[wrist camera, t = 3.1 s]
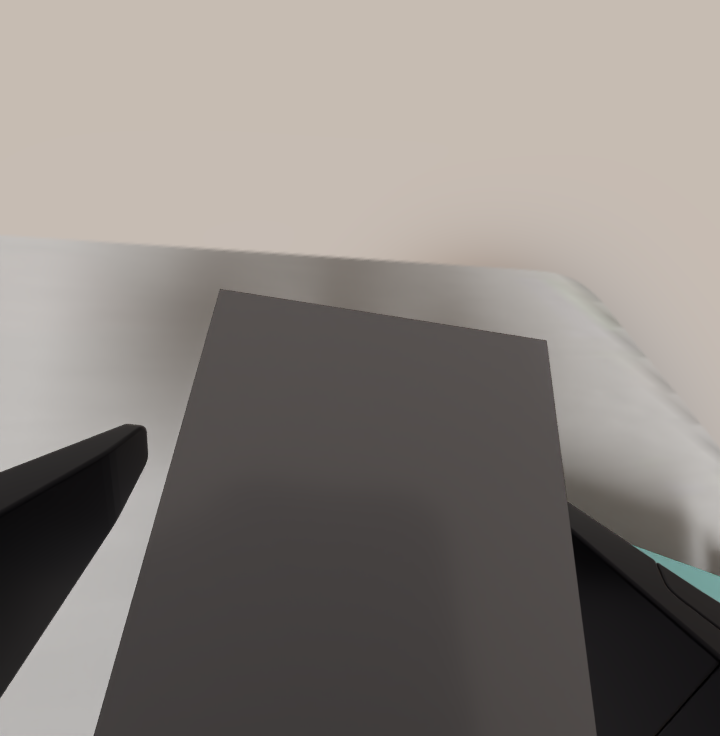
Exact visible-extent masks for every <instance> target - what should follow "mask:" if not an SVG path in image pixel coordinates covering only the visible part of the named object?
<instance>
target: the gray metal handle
mask: <svg viewBox="0 0 720 736" xmlns="http://www.w3.org/2000/svg"><path fill="white" fill-rule="evenodd" d="M94 736H597V733H596V725H595V717H594V709H593V701H592V693H591V686H590V678H589V670H588V662H587V654H586V646H585V638H584V631H583V623H582V615H581V607H580V599H579V591H578V583H577V576H576V568H575V560H574V552H573V544H572V536H571V528H570V520H569V513H568V505H567V497H566V489H565V481H564V473H563V465H562V458H561V450H560V442H559V434H558V426H557V418H556V410H555V403H554V395H553V387H552V379H551V371H550V363H549V355H548V347H547V341H546V340H540V339H533V338H527V337H521V336H515V335H508V334H502V333H496V332H489V331H483V330H477V329H470V328H464V327H458V326H451V325H445V324H439V323H432V322H426V321H420V320H413V319H407V318H401V317H394V316H388V315H382V314H375V313H369V312H363V311H356V310H350V309H344V308H337V307H331V306H325V305H318V304H312V303H306V302H299V301H293V300H287V299H280V298H274V297H268V296H261V295H255V294H249V293H242V292H236V291H230V290H223V289H220V291H219V294H218V298H217V301H216V305H215V309H214V312H213V316H212V319H211V323H210V326H209V330H208V333H207V337H206V340H205V344H204V347H203V351H202V355H201V358H200V362H199V365H198V369H197V372H196V376H195V379H194V383H193V386H192V390H191V393H190V397H189V401H188V404H187V408H186V411H185V415H184V418H183V422H182V425H181V429H180V432H179V436H178V439H177V443H176V447H175V450H174V454H173V457H172V461H171V464H170V468H169V471H168V475H167V478H166V482H165V485H164V489H163V492H162V496H161V500H160V503H159V507H158V510H157V514H156V517H155V521H154V524H153V528H152V531H151V535H150V538H149V542H148V546H147V549H146V553H145V556H144V560H143V563H142V567H141V570H140V574H139V577H138V581H137V584H136V588H135V592H134V595H133V599H132V602H131V606H130V609H129V613H128V616H127V620H126V623H125V627H124V630H123V634H122V638H121V641H120V645H119V648H118V652H117V655H116V659H115V662H114V666H113V669H112V673H111V676H110V680H109V683H108V687H107V691H106V694H105V698H104V701H103V705H102V708H101V712H100V715H99V719H98V722H97V726H96V729H95V733H94Z"/></svg>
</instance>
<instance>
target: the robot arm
mask: <svg viewBox="0 0 720 736" xmlns="http://www.w3.org/2000/svg"><path fill="white" fill-rule="evenodd" d="M147 459H148V445H147V431H146V428H145V427H144V426H141V425H133V424H124V425H122V426H119V427H117V428H114V429H111V430H109V431H106V432H104V433H101V434H98V435H96V436H93V437H91V438H88V439H85V440H83V441H80V442H78V443H75V444H72V445H70V446H67V447H65V448H62V449H59V450H57V451H54V452H52V453H49V454H47V455H44V456H41V457H39V458H36V459H34V460H31V461H28V462H26V463H23V464H21V465H18V466H15V467H13V468H10V469H8V470H5V471H2V472H0V698H1V696H2V695H3V693H4V692H5V690H6V689H7V687H8V686H9V684H10V683H11V681H12V680H13V678H14V677H15V675H16V674H17V672H18V670H19V669H20V667H21V666H22V664H23V663H24V661H25V660H26V658H27V657H28V655H29V654H30V652H31V651H32V649H33V648H34V646H35V645H36V643H37V642H38V640H39V639H40V637H41V636H42V634H43V632H44V631H45V629H46V628H47V626H48V625H49V623H50V622H51V620H52V619H53V617H54V616H55V614H56V613H57V611H58V610H59V608H60V607H61V605H62V604H63V602H64V601H65V599H66V598H67V596H68V594H69V593H70V591H71V590H72V588H73V587H74V585H75V584H76V582H77V581H78V579H79V578H80V576H81V575H82V573H83V572H84V570H85V569H86V567H87V566H88V564H89V563H90V561H91V560H92V558H93V556H94V555H95V553H96V552H97V550H98V549H99V547H100V546H101V544H102V543H103V541H104V540H105V538H106V537H107V535H108V534H109V532H110V531H111V529H112V527H113V526H114V524H115V523H116V521H117V519H118V517H119V515H120V514H121V512H122V510H123V508H124V506H125V504H126V502H127V500H128V498H129V496H130V494H131V492H132V490H133V488H134V486H135V484H136V483H137V481H138V479H139V477H140V475H141V473H142V471H143V469H144V467H145V465H146V462H147ZM567 505H568V513H569V520H570V528H571V536H572V544H573V552H574V560H575V568H576V576H577V583H578V591H579V599H580V607H581V615H582V623H583V631H584V638H585V646H586V654H587V662H588V670H589V678H590V686H591V693H592V701H593V709H594V717H595V725H596V733H597V736H720V602H718V601H717V600H715V599H713V598H712V597H710V596H709V595H707V594H705V593H704V592H702V591H701V590H699V589H698V588H696V587H695V586H693V585H692V584H690V583H688V582H687V581H685V580H684V579H682V578H681V577H679V576H678V575H676V574H675V573H673V572H672V571H670V570H669V569H667V568H666V567H664V566H663V565H661V564H660V563H656V562H655V560H654V559H652V558H651V557H649V556H648V555H646V554H645V553H643V552H642V551H640V550H639V549H637V548H636V547H634V546H633V545H631V544H630V543H628V542H627V541H625V540H624V539H622V538H621V537H619V536H618V535H616V534H615V533H613V532H612V531H610V530H609V529H607V528H606V527H604V526H603V525H601V524H600V523H598V522H597V521H595V520H594V519H592V518H591V517H589V516H588V515H586V514H585V513H583V512H582V511H580V510H579V509H577V508H576V507H574V506H573V505H571V504H570V503H568V502H567Z"/></svg>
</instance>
